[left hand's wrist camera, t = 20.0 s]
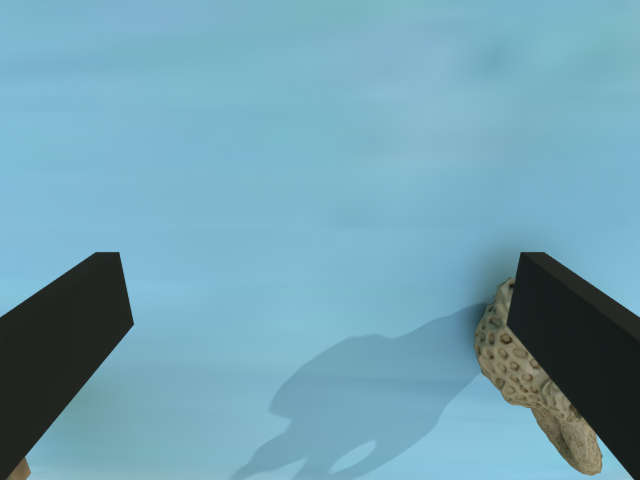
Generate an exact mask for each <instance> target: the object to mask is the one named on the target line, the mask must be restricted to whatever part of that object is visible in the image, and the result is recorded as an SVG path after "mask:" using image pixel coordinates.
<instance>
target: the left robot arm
mask: <svg viewBox="0 0 640 480" xmlns="http://www.w3.org/2000/svg"><path fill="white" fill-rule="evenodd" d="M133 325H134V322H133V317H132V312H131V307H130V303H129V298H128V293H127V288H126V283H125V278H124V273H123V268H122V263H121V259H120V254H119V252H95V253H94V254H92V255H91V256H90V257H88V258H87V259H85V260H84V261H82V262H81V263H79V264H78V265H76V266H75V267H73V268H72V269H70V270H69V271H68V272H66V273H65V274H63V275H62V276H60V277H59V278H57V279H56V280H54V281H53V282H51V283H50V284H49V285H47V286H46V287H44V288H43V289H41V290H40V291H38V292H37V293H35V294H34V295H32V296H31V297H30V298H28V299H27V300H25V301H24V302H22V303H21V304H19V305H18V306H16V307H15V308H13V309H12V310H10V311H9V312H8V313H6V314H5V315H3V316H2V317H0V480H6V479H7V478H8V477H9V475H10V474H11V473H12V472H13V470H14V469H15V468H16V467H17V466H18V464H19V463H20V462H21V461H22V460H23V458H24V457H25V456H26V455H27V454H28V452H29V451H30V450H31V449H32V447H33V446H34V445H35V444H36V443H37V441H38V440H39V439H40V438H41V437H42V435H43V434H44V433H45V432H46V430H47V429H48V428H49V427H50V426H51V424H52V423H53V422H54V421H55V420H56V418H57V417H58V416H59V415H60V414H61V412H62V411H63V410H64V409H65V407H66V406H67V405H68V404H69V403H70V401H71V400H72V399H73V398H74V397H75V395H76V394H77V393H78V392H79V390H80V389H81V388H82V387H83V386H84V384H85V383H86V382H87V381H88V380H89V378H90V377H91V376H92V375H93V374H94V372H95V371H96V370H97V369H98V367H99V366H100V365H101V364H102V363H103V361H104V360H105V359H106V358H107V357H108V355H109V354H110V353H111V352H112V350H113V349H114V348H115V347H116V346H117V344H118V343H119V342H120V341H121V340H122V338H123V337H124V336H125V335H126V334H127V332H128V331H129V330H130V329H131V327H132V326H133ZM506 325H507V326H508V327H509V329H510V330H511V331H512V332H513V334H514V335H515V336H516V337H517V338H518V340H519V341H520V342H521V343H522V344H523V346H524V347H525V348H526V349H527V350H528V352H529V353H530V354H531V355H532V357H533V358H534V359H535V360H536V361H537V363H538V364H539V365H540V366H541V367H542V369H543V370H544V371H545V372H546V374H547V375H548V376H549V377H550V378H551V380H552V381H553V382H554V383H555V384H556V386H557V387H558V388H559V389H560V390H561V392H562V393H563V394H564V395H565V397H566V398H567V399H568V400H569V401H570V403H571V404H572V405H573V406H574V407H575V409H576V410H577V411H578V412H579V414H580V415H581V416H582V417H583V418H584V420H585V421H586V422H587V423H588V424H589V426H590V427H591V428H592V429H593V430H594V432H595V433H596V434H597V435H598V437H599V438H600V439H601V440H602V441H603V443H604V444H605V445H606V446H607V447H608V449H609V450H610V451H611V452H612V454H613V455H614V456H615V457H616V458H617V460H618V461H619V462H620V463H621V464H622V466H623V467H624V468H625V469H626V470H627V472H628V473H629V474H630V475H631V477H632V478H633V479H634V480H640V317H638V316H637V315H635V314H634V313H632V312H631V311H630V310H628V309H627V308H625V307H624V306H622V305H621V304H619V303H618V302H616V301H615V300H613V299H612V298H610V297H609V296H608V295H606V294H605V293H603V292H602V291H600V290H599V289H597V288H596V287H594V286H593V285H591V284H590V283H589V282H587V281H586V280H584V279H583V278H581V277H580V276H578V275H577V274H575V273H574V272H572V271H571V270H570V269H568V268H567V267H565V266H564V265H562V264H561V263H559V262H558V261H556V260H555V259H553V258H552V257H550V256H549V255H548V254H546V253H545V252H521V254H520V259H519V263H518V268H517V273H516V278H515V283H514V288H513V293H512V298H511V303H510V307H509V312H508V317H507V322H506Z"/></svg>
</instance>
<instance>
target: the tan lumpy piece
mask: <svg viewBox="0 0 640 480" xmlns="http://www.w3.org/2000/svg"><path fill="white" fill-rule="evenodd" d="M514 283H515V278H512V277H509V278H508V280H507V281H506V282H504V283H502V284H501V285H499V286H497V294H496V295H495V296H494V297H495V301H496V302H495V303H493V304H490V305H489V306H487V307H486V311H485V313H484V316H483V317H482V318H481V320H480V322H479V324H478V327H477V330H476V333H475V341H474V348H475V351H476V356H477V360H478V363H479V365H480V367H481V371H482V374H483V375H484V376H486V377H487V378H488V379H489V380H490V381H491V382H492V383H493V385H494V386H495V387H496V388H497V389H498V390H500V392H501V394H502V396H503V397H504V399H505V401H507V402H508V403H510V404H512V405H522V406H524V407H527V408H531V410H532V413H533V415H534V417H535V418H536V420H537V423H538V425H539V426H540V428H541V429H542V430H543V431H544V433H545V434H546V435H547V437H548V439H549V440H550V442H551V443H552V444H553V445H554V446H555V448H556V449H557V450H558V452H559V453H560V454H561V456H562V457H563V458H564V459H565V460H566V461H567V462H568V463H569V464H570V465H571V466H572V467H573V468H575V469H576V470H577V471H579V472H581V473H582V474H586V475H591V476H592V475H595V474H598V473H601V469H602V457H603V456H602V454H601V451H600V448H599V446H598V443H597V436H596V433H595V432H594V430H593V429H592V428H591V427H590V426H589V424H588V423H587V422H586V421H585V420H584V418H583V417H582V416H581V415H580V414H579V412H578V411H577V410H576V409H575V407H574V406H573V405H572V404H571V403H570V401H569V400H568V399H567V398H566V397H565V395H564V394H563V393H562V392H561V390H560V389H559V388H558V387H557V386H556V384H555V383H554V382H553V381H552V380H551V378H550V377H549V376H548V375H547V374H546V372H545V371H544V370H543V369H542V367H541V366H540V365H539V364H538V363H537V361H536V360H535V359H534V358H533V357H532V355H531V354H530V353H529V352H528V350H527V349H526V348H525V347H524V346H523V344H522V343H521V342H520V341H519V340H518V338H517V337H516V336H515V335H514V334H513V332H512V331H511V330H510V329H509V327H508V326H507V325H506V322H507V317H508V312H509V307H510V303H511V298H512V293H513V288H514Z"/></svg>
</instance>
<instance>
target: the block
mask: <svg viewBox="0 0 640 480" xmlns="http://www.w3.org/2000/svg"><path fill="white" fill-rule="evenodd" d="M30 474H31V471H30V469H29V466H28V464H27V461H26V458H25V457H24V458H23V460H22V461H21V462H20V463H19V464H18V466H17V467H16V468H15V469H14V470H13V472H12V473H11V474H10V475H9V477H8V478H7V479H6V480H26V479H27V478H28V476H29V475H30Z"/></svg>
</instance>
